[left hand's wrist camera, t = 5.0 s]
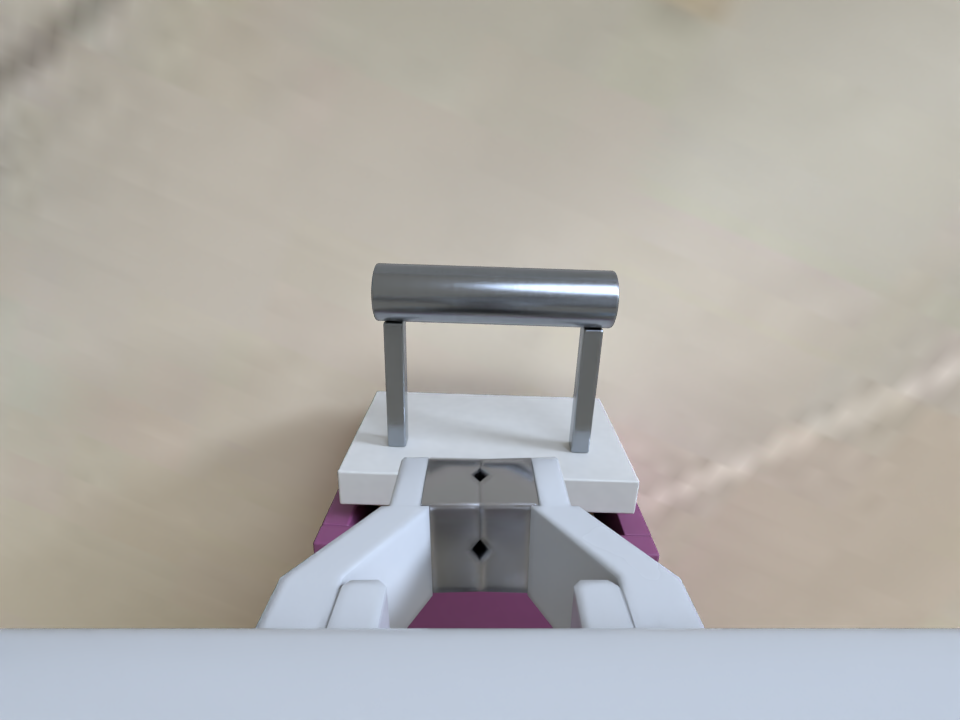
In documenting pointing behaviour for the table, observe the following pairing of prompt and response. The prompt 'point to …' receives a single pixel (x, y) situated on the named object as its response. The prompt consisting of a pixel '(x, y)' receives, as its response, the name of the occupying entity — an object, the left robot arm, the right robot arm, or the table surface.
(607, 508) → the drawer
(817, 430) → the table surface
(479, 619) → the cabinet
